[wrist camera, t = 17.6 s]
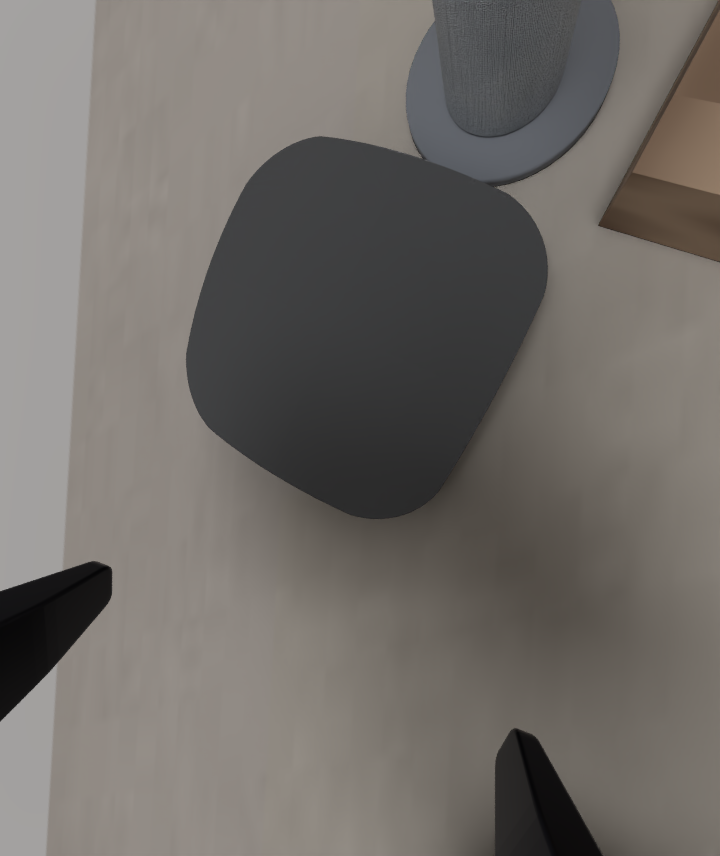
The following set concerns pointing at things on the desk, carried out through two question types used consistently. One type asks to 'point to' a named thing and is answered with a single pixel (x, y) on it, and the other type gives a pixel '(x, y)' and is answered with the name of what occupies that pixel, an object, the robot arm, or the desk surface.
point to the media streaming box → (362, 320)
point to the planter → (502, 59)
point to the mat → (538, 138)
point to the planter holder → (679, 161)
